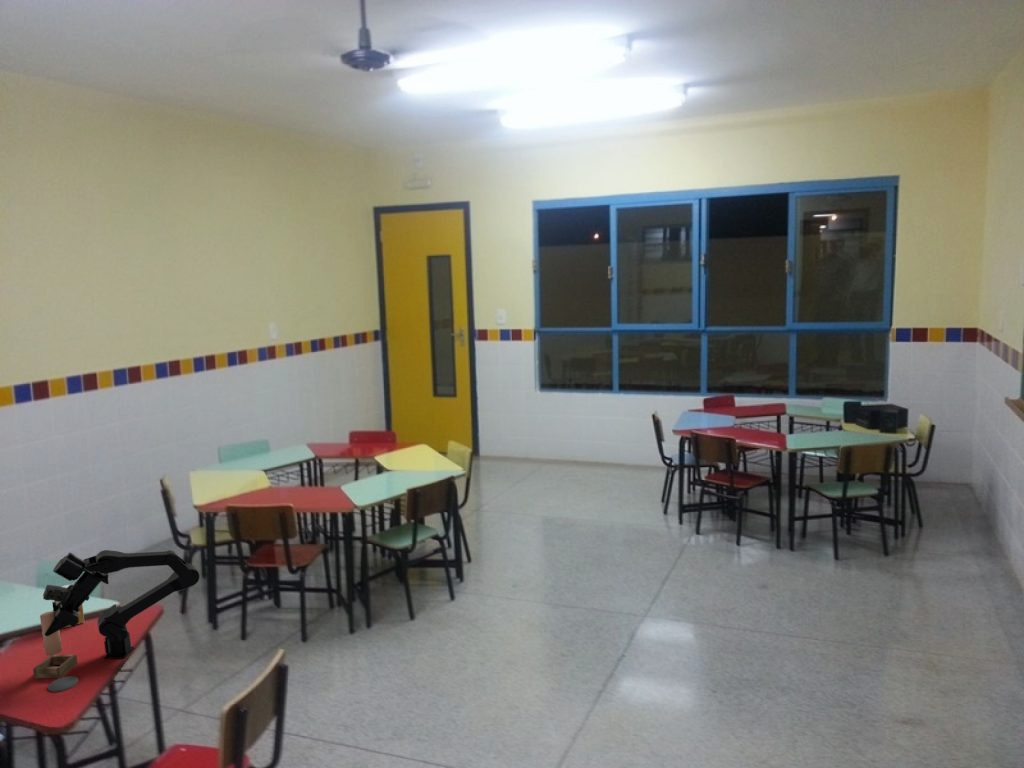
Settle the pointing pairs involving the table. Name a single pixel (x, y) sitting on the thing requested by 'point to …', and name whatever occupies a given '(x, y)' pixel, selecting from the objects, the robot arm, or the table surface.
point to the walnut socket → (55, 672)
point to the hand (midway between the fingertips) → (45, 632)
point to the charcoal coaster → (63, 684)
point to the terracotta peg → (52, 641)
